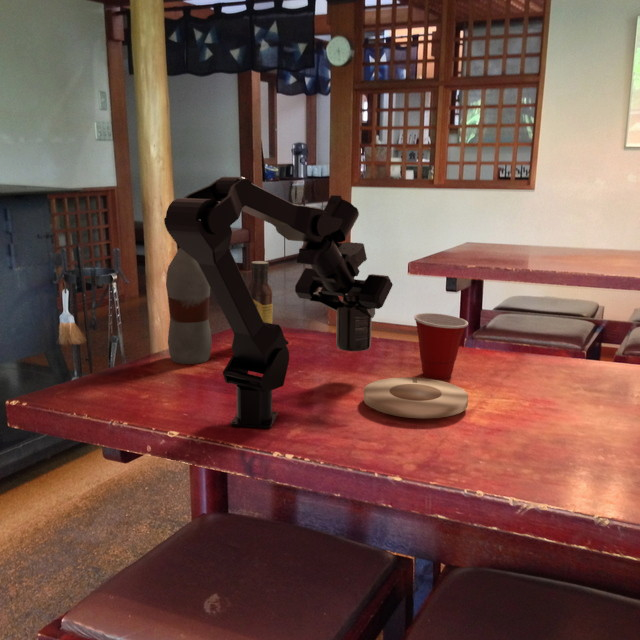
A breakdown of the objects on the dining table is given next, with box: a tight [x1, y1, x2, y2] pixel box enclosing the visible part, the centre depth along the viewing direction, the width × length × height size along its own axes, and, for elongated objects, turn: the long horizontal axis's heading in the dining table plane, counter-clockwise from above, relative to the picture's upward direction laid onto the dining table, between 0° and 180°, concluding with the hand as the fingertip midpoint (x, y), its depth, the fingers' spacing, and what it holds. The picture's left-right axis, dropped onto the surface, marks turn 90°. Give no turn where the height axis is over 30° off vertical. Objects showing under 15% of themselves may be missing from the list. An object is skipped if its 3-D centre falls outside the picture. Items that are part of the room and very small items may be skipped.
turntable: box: [363, 376, 469, 419], centre depth 117 cm, size 18×18×2 cm
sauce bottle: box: [247, 260, 274, 324], centre depth 156 cm, size 6×6×20 cm
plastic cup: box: [413, 312, 469, 380], centre depth 135 cm, size 11×11×12 cm
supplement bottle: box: [335, 292, 373, 352], centre depth 130 cm, size 7×7×12 cm
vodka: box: [165, 247, 213, 365], centre depth 142 cm, size 9×9×30 cm
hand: (357, 313), depth 131 cm, fingers closed on supplement bottle, 7 cm apart
